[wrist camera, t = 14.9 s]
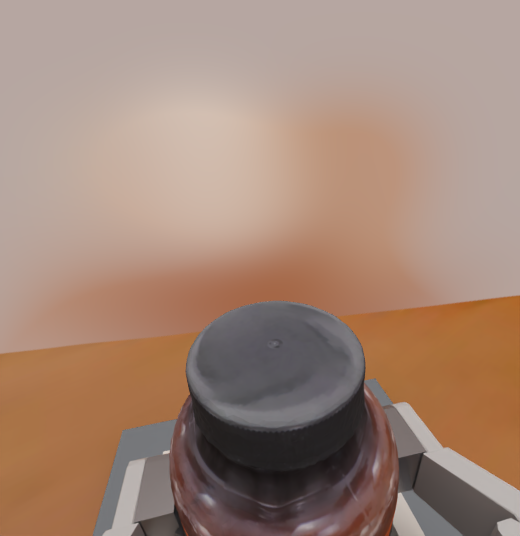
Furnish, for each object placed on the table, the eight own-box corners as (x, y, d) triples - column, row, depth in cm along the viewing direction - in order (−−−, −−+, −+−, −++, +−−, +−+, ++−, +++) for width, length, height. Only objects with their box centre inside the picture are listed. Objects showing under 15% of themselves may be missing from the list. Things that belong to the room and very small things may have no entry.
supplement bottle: (284, 459, 15) (272, 265, 10) (398, 568, 11) (467, 332, 6) (184, 570, 11) (97, 349, 7) (302, 796, 7) (291, 640, 3)
